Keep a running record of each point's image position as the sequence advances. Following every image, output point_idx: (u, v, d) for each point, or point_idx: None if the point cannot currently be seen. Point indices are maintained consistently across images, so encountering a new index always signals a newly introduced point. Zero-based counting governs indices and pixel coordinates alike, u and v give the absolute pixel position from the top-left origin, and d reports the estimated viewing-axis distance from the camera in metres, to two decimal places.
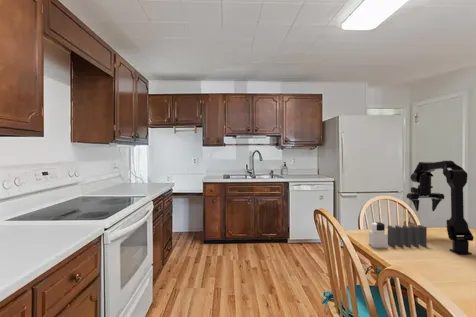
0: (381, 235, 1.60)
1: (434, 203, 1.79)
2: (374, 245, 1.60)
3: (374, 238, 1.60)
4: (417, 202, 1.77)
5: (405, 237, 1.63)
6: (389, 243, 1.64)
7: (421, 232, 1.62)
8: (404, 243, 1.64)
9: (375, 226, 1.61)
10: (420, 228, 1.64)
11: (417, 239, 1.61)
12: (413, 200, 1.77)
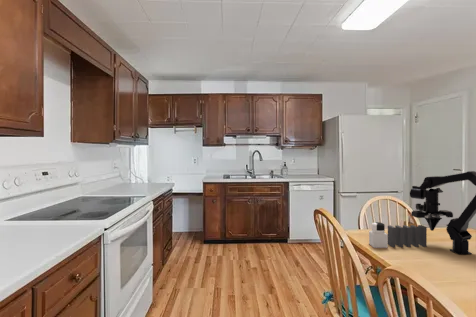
0: (381, 235, 1.60)
1: None
2: (374, 245, 1.60)
3: (374, 238, 1.60)
4: (432, 221, 1.61)
5: (405, 237, 1.63)
6: (389, 243, 1.64)
7: (421, 232, 1.62)
8: (404, 243, 1.64)
9: (375, 226, 1.61)
10: (420, 228, 1.64)
11: (417, 239, 1.61)
12: (427, 218, 1.61)
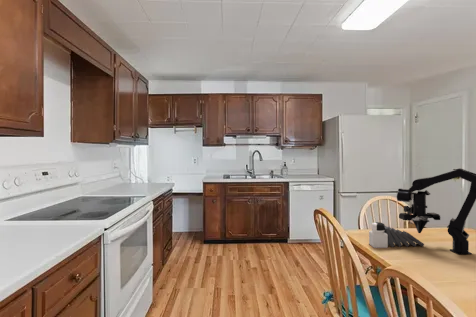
0: (381, 235, 1.60)
1: None
2: (374, 245, 1.60)
3: (374, 238, 1.60)
4: (419, 223, 1.61)
5: (399, 239, 1.63)
6: (388, 243, 1.64)
7: (410, 238, 1.62)
8: (402, 243, 1.64)
9: (375, 226, 1.61)
10: None
11: (410, 240, 1.61)
12: (414, 221, 1.61)
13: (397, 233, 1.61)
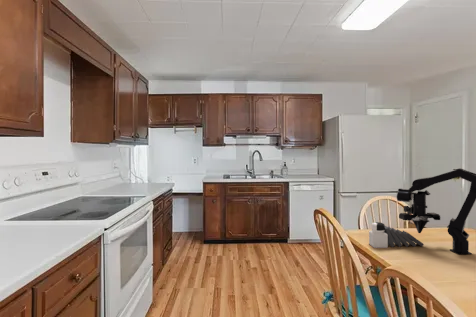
0: (381, 235, 1.60)
1: None
2: (374, 245, 1.60)
3: (374, 238, 1.60)
4: (419, 223, 1.61)
5: (399, 239, 1.64)
6: (388, 243, 1.64)
7: None
8: (402, 243, 1.64)
9: (375, 226, 1.61)
10: None
11: (410, 240, 1.61)
12: (414, 221, 1.61)
13: (397, 233, 1.61)
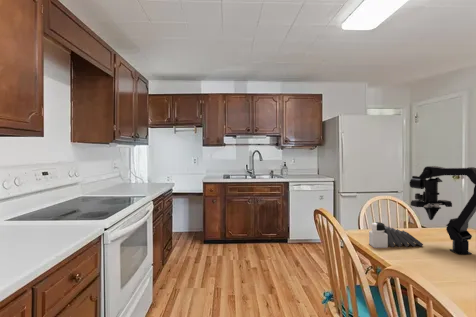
0: (381, 235, 1.60)
1: None
2: (374, 245, 1.60)
3: (374, 238, 1.60)
4: (431, 210, 1.61)
5: (399, 239, 1.64)
6: (388, 243, 1.64)
7: None
8: (402, 243, 1.64)
9: (375, 226, 1.61)
10: None
11: (409, 240, 1.61)
12: (426, 208, 1.62)
13: (397, 233, 1.61)
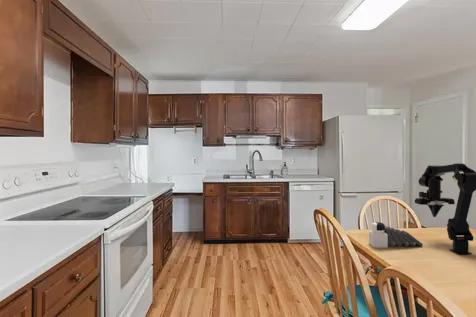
0: (381, 235, 1.60)
1: None
2: (374, 245, 1.60)
3: (374, 238, 1.60)
4: (434, 207, 1.69)
5: (399, 239, 1.64)
6: (388, 243, 1.64)
7: (409, 238, 1.62)
8: (402, 243, 1.64)
9: (375, 226, 1.61)
10: None
11: (409, 240, 1.61)
12: (430, 205, 1.69)
13: (397, 233, 1.61)
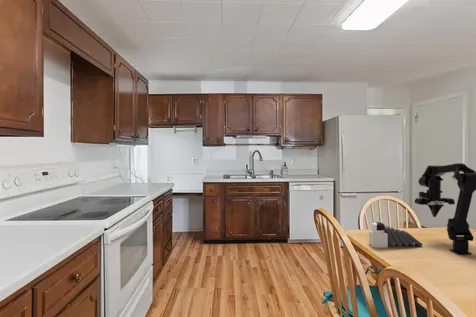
0: (381, 235, 1.60)
1: None
2: (374, 245, 1.60)
3: (374, 238, 1.60)
4: (434, 207, 1.69)
5: (399, 239, 1.64)
6: (388, 243, 1.64)
7: (408, 237, 1.62)
8: (402, 243, 1.64)
9: (375, 226, 1.61)
10: None
11: (409, 240, 1.61)
12: (430, 205, 1.69)
13: (397, 233, 1.61)
